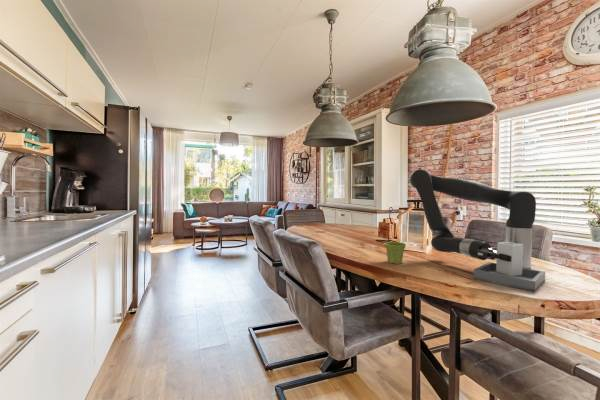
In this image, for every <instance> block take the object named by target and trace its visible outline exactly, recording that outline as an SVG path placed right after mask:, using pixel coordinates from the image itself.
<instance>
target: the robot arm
mask: <svg viewBox="0 0 600 400" xmlns="http://www.w3.org/2000/svg"><path fill="white" fill-rule="evenodd" d="M409 184H410V185H411V186H412V188H414V189H416V191H417V193H418V195H419V197H420V200H421V204H422V207H423V211H424V215H425V218H426V222H427V224H428V226H429V229H430V230H431V231H432V232H436V231H437V232H438V233H439V234H438V235H436V236H434V237H433V238H431V240H430V244H431V247H432V248H433V249H434V250H436V251H438V252H440V253H441V252H442V253H455V254H459V255H463V256H466V257H468V258H473V259H477V260H480V261H486V260H492V261H495V260H496V261H497V260H503V261H508V262H511V256H510V255H505V254H500V253H497V247H494V246H492V247H491V245H490V243H488V242H487V241H482V240H477V239H472V238H463V237H457V236H456V237H455V236H454V234H453V233H452V231H451V230H450V228H449V227H448V226H447V224H446V223H445V220H444V217H443V215H442V212H441V209H440V206H439V204H438V201H437V198H436V196H435V192H438V193H440V194H443V195H446V196H451V197H454V198H457V199H461V200H464V201H469V202H475V203H481V204H482V203H483V204H491V205H495V206H498V207H501V208H504V209H507V210H509V215H508V218H507V220H506V224H505V225H506V226H505V242H511V243H517V244H522V245H523V265H522V268H527V269H531V267H532V245H533V225H534V223H535V219H536V210H537V208H536V207H537V202H536V200H537V199H536V197H535V196H534V194H532V193H531V192H529V191H525V190H508V189H507V190H505V189H500V188H495V187H493V186H490V185H487V184H485V183H481V182H478V181H474V180H470V179H466V178H465V179H464V178H458V177H457V178H456V177H442V176H438V175H434V174H431V173H429V171H428V170H426V169H423V168H422V169H421V168H420V169H417V170H415V171H413V172H412V174H411V175H410V178H409Z"/></svg>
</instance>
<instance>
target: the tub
mask: <svg viewBox="0 0 600 400" xmlns="http://www.w3.org/2000/svg"><path fill="white" fill-rule="evenodd" d="M496 244H497V246H496V248H497V253H500V254H505V255H510V256H511V262H508V261H503V260H496V262H495V263H496V272H500V273H503V274H507V275H510V276H514V275H522V265H523V245H522V244H517V243H511V242H506V241H503V242H501V241H500V242H497V243H496Z"/></svg>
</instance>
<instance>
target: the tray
mask: <svg viewBox="0 0 600 400" xmlns="http://www.w3.org/2000/svg"><path fill="white" fill-rule="evenodd" d="M496 263H497V262H491V261H488V262H486V263H484V264H482V265H480V266H478V267H476V268H474V269H473V280H478V281H480V282H481V281H482V282H486V283H492V284H497V285H501V286H505V287H510V288H514V289H519V290H525V291H527V292H532V293H535V292H536V291H537V290H538V289H539V288H540V287H541V286H542V285H543V284H544V283H545V282H546V271H545V270H544V271H543V270H538V269H532V268H522V275H514V276H510V275H507V274H503V273H500V272H496Z"/></svg>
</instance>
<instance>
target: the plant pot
mask: <svg viewBox="0 0 600 400" xmlns="http://www.w3.org/2000/svg"><path fill="white" fill-rule="evenodd" d="M383 244H384V246H385V249H386V257H387V263H389V264H395V265H399V264H402V263H403V258H404V251H405V249H406V247H407V244H406V243H404V242H400V241H399V242H398V241H388V242H384V243H383Z"/></svg>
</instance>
